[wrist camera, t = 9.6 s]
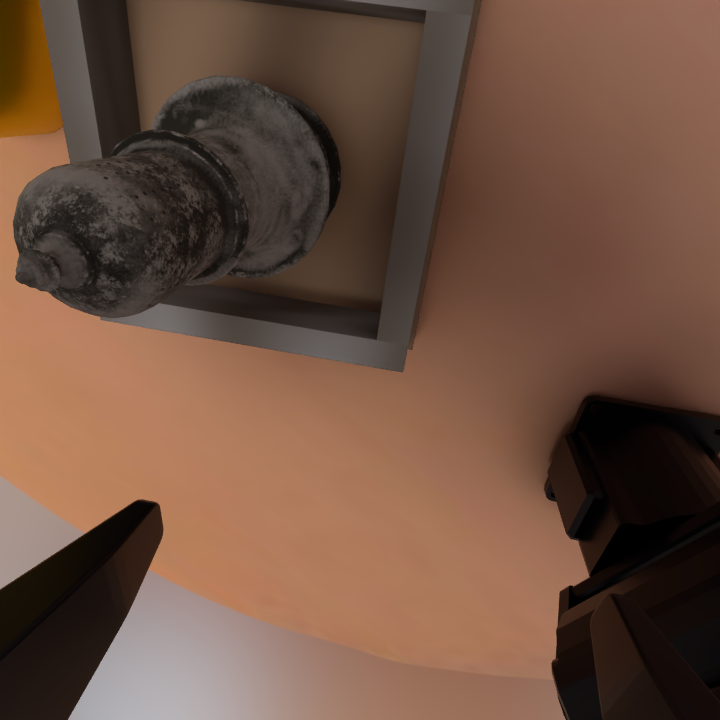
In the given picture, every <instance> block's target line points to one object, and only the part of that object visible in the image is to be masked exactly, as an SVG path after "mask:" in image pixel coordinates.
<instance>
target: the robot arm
mask: <svg viewBox="0 0 720 720" xmlns="http://www.w3.org/2000/svg"><path fill="white" fill-rule="evenodd" d="M594 405H599V406H598V407H597V408H595V409H591V407H592V406H594ZM718 427H720V417H719V416H713V415H707V414H702V413H696V412H690V411H684V410H678V409H673V408H667V407H661V406H655V405H649V404H644V403H638V402H632V401H626V400H620V399H615V398H609V397H603V396H589V397H587V398H586V399H585V400H584V401H583V402H582V405H581V407H580V409H579V411H578V413H577V416H576V418H575V420H574V422H573V425H572V427H571V429H570V431H569V432H567V433H566V434H565V435H564V436H563V438H562V440H561V442H560V445H559V447H558V449H557V451H556V454H555V456H554V458H553V460H552V463H551V465H550V467H549V469H548V475H549V478H548V481H547V483H546V485H545V488H544V491H545V494H546V497H547V498H548V499H549V500H551V501H555V502H557V505H558V508H559V512H560V515H561V518H562V521H563V525H564V528H565V531H566V534H567V535H568V536H569V538H570V539H573V540H578V542H579V545H580V548H581V551H582V554H583V558H584V561H585V564H586V567H587V570H588V573H589V576H590V577H589V578H587V579H586V580H584V581H582V582H581V583H579V584H577V585H575V586H574V587H573V586H571V585H570V586H568V587H567V588H565V589H563V590H562V591H560V596H559V613H558V627H557V630H556V634H557V647H556V659H555V660H553V661H552V675H553V679H554V682H555V686H556V690H557V694H558V699H559V702H560V705H561V708H562V711H563V714H564V716H565V719H566V720H720V458H719V457H718V453H719V452H720V429H718V430H715V429H716V428H718ZM162 536H163V522H162V516H161V510H160V505H159V504H158V503H157V502H153V501H148V500H142V499H140V500H137V501H135V502H133V503H131V504H130V505H128V506H127V507H125V508H124V509H122V510H121V511H119V512H118V513H116V514H115V515H113V516H112V517H110V518H108V519H107V520H105V521H104V522H102V523H101V524H99V525H98V526H96V527H95V528H93V529H92V530H90V531H89V532H87V533H86V534H84V535H83V536H81V537H79V538H78V539H77V540H75V541H73V542H72V543H70V544H69V545H67V546H66V547H64V548H63V549H61V550H60V551H58V552H57V553H55V554H54V555H52V556H51V557H49V558H47V559H46V560H44V561H43V562H41V563H40V564H38V565H37V566H36V567H34V568H32V569H31V570H29V571H28V572H26V573H24V574H23V575H21V576H20V577H18V578H17V579H15V580H14V581H12V582H11V583H9V584H8V585H6V586H5V587H3V588H2V589H0V720H68V718H69V716H70V715H71V713H72V711H73V710H74V708H75V706H76V704H77V703H78V701H79V699H80V697H81V696H82V694H83V692H84V690H85V689H86V687H87V685H88V683H89V681H90V680H91V678H92V676H93V675H94V673H95V671H96V669H97V668H98V666H99V664H100V662H101V661H102V659H103V657H104V655H105V654H106V652H107V650H108V648H109V647H110V645H111V643H112V641H113V640H114V638H115V636H116V634H117V633H118V631H119V629H120V627H121V626H122V624H123V622H124V620H125V618H126V616H127V614H128V612H129V610H130V608H131V606H132V604H133V602H134V600H135V597H136V595H137V593H138V591H139V589H140V586H141V584H142V582H143V580H144V577H145V575H146V573H147V571H148V568H149V566H150V564H151V562H152V560H153V557H154V555H155V553H156V551H157V548H158V546H159V544H160V542H161V539H162Z"/></svg>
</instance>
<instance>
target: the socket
mask: <svg viewBox="0 0 720 720" xmlns="http://www.w3.org/2000/svg"><path fill="white" fill-rule="evenodd" d="M481 1H482V0H39V3H40V8H41V13H42V18H43V23H44V29H45V34H46V39H47V44H48V49H49V54H50V60H51V65H52V70H53V75H54V80H55V85H56V91H57V96H58V101H59V106H60V111H61V117H62V122H63V127H64V132H65V137H66V142H67V148H68V153H69V158H70V163H76V162H82V161H88V160H94V159H100V158H106V157H108V156H109V155H110V153H111V152H112V151H113V149H114V148H115V146H116V145H117V144H118V143H120V142H121V141H123V140H124V139H126V138H127V137H129V136H130V135H132V134H135V133H139V132H143V131H147V130H150V129H151V126H152V123H153V121H154V118H155V116H156V114H157V113H158V111H159V110H160V109H161V107H162V106H163V105H164V103H165V102H166V101H167V99H168V98H169V96H171V95H172V94H173V93H175V92H176V91H178V90H179V89H181V88H182V87H184V86H185V85H186V84H188V83H189V82H192V81H195V80H199V79H203V78H206V77H210V76H214V75H218V76H233V77H243V78H246V79H248V80H251V81H254V82H256V83H259V84H261V85H264V86H267V87H269V88H270V89H272V90H273V91H278V92H281V93H284V94H286V95H289V96H292V97H294V98H297V99H299V100H300V101H301V102H303V103H304V104H305V105H307V106H308V107H309V108H311V109H312V110H313V111H315V113H316V114H317V115H318V116H319V118H320V119H321V120H322V121H323V123H324V124H325V125H326V126H327V128H328V129H329V131H330V134H331V136H332V138H333V140H334V142H335V144H336V146H337V150H338V155H339V160H340V165H341V187H340V191H339V194H338V198H337V201H336V205H335V207H334V209H333V210H332V212H331V213H330V215H329V217H328V218H327V220H326V221H325V224H324V228H323V231H322V233H321V235H320V236H319V238H318V240H317V241H316V243H315V244H314V246H313V248H312V249H311V251H310V252H309V253H308V254H307V255H306V256H305V257H304V258H302V259H301V260H300V261H299V262H298V263H297V264H296V265H295V266H294V267H291V268H289V269H287V270H285V271H283V272H281V273H279V274H277V275H274V276H268V277H261V278H255V279H251V278H242V277H233V276H230V275H227V274H226V275H225V276H223V277H221V278H219V279H217V280H215V281H213V282H211V283H207V284H201V285H194V286H191V285H183V286H182V287H180V288H179V289H178V290H176V291H175V292H174V293H172V294H171V295H169V296H168V297H167V298H165V299H164V300H162V301H161V302H160V303H158V304H157V305H155V306H154V307H152V308H150V309H148V310H146V311H144V312H141V313H139V314H136V315H132V316H128V317H120V318H108V317H100V318H101V320H104V321H110V322H116V323H121V324H127V325H133V326H139V327H144V328H150V329H156V330H162V331H167V332H173V333H179V334H185V335H190V336H196V337H202V338H208V339H213V340H219V341H225V342H231V343H236V344H242V345H248V346H254V347H259V348H265V349H271V350H277V351H282V352H288V353H294V354H300V355H305V356H311V357H317V358H323V359H328V360H334V361H340V362H346V363H351V364H357V365H363V366H369V367H374V368H380V369H386V370H392V371H397V372H403V370H404V364H405V359H406V354H407V349H409V350H412V348H413V343H414V338H415V333H416V328H417V323H418V318H419V313H420V308H421V303H422V298H423V293H424V288H425V283H426V278H427V273H428V268H429V263H430V258H431V253H432V248H433V242H434V237H435V232H436V227H437V222H438V217H439V212H440V207H441V202H442V197H443V192H444V187H445V182H446V177H447V172H448V167H449V162H450V157H451V152H452V147H453V142H454V137H455V132H456V127H457V122H458V117H459V112H460V107H461V102H462V97H463V92H464V87H465V82H466V77H467V72H468V66H469V61H470V56H471V51H472V46H473V41H474V36H475V31H476V26H477V21H478V16H479V11H480V6H481Z"/></svg>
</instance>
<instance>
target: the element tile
mask: <svg viewBox="0 0 720 720" xmlns="http://www.w3.org/2000/svg"><path fill="white" fill-rule="evenodd" d="M62 126H63V122H62V117H61V111H60V106H59V101H58V96H57V91H56V85H55V80H54V75H53V70H52V65H51V60H50V54H49V49H48V44H47V39H46V34H45V29H44V23H43V18H42V13H41V8H40V3H39V0H0V138H4V137H15V136H25V135H36V134H45V133H53V132H56V131H57V130H58V129H59V128H61V127H62Z"/></svg>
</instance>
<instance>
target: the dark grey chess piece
mask: <svg viewBox="0 0 720 720" xmlns="http://www.w3.org/2000/svg"><path fill="white" fill-rule="evenodd" d="M340 187H341V165H340V160H339V155H338V150H337V146H336V144H335V142H334V140H333V138H332V136H331V134H330V131H329V129H328V128H327V126H326V125H325V124H324V123H323V121H322V120H321V119H320V118H319V116H318V115H317V114H316V113H315V111H313V110H312V109H311V108H309V107H308V106H307V105H305V104H304V103H303V102H301V101H300V100H299V99H297V98H294V97H292V96H289V95H286V94H284V93H281V92H278V91H273V90H272V89H270V88H269V87H267V86H264V85H261V84H259V83H256V82H254V81H251V80H248V79H246V78H243V77H233V76H218V75H214V76H210V77H206V78H203V79H199V80H195V81H192V82H189V83H188V84H186V85H185V86H184V87H182V88H181V89H179V90H178V91H176V92H175V93H173V94H172V95H171V96H169V98H168V99H167V101H166V102H165V103H164V105H163V106H162V107H161V109H160V110H159V111H158V113H157V114H156V116H155V118H154V121H153V123H152V126H151V129H150V130H147V131H143V132H139V133H135V134H132V135H130V136H129V137H127V138H126V139H124V140H123V141H121V142H120V143H118V144H117V145H116V146H115V148H114V149H113V151H112V152H111V153H110V155H109V156H108V157H106V158H100V159H94V160H88V161H82V162H76V163H70V164H66V165H62V166H57V167H53V168H51V169H49V170H47V171H45V172H44V173H42V174H41V175H39V176H38V177H36V178H35V179H33V180H32V181H30V182H29V183H28V184H27V185H26V187H25V188H24V190H23V191H22V193H21V194H20V196H19V198H18V202H17V207H16V211H15V216H14V221H13V227H14V239H15V242H16V245H17V248H18V251H19V254H20V255H19V258H18V262H17V264H18V265H17V268H16V273H17V274H16V276H15V278H16V280H17V281H18V282H19V283H21V284H25V285H27V286H29V287H32V288H36V289H38V290H40V291H47V292H49V293H50V294H51V295H52V296H53V297H55V298H56V299H58V300H59V301H61V302H63V303H64V304H66V305H68V306H69V307H71V308H74V309H77V310H80V311H83V312H85V313H88V314H92V315H95V316H100V317H108V318H120V317H128V316H132V315H136V314H139V313H141V312H144V311H146V310H148V309H150V308H152V307H154V306H155V305H157V304H158V303H160V302H161V301H162V300H164V299H165V298H167V297H168V296H169V295H171V294H172V293H174V292H175V291H176V290H178V289H179V288H180V287H182V286H183V285H191V286H194V285H201V284H207V283H211V282H213V281H215V280H217V279H219V278H221V277H223V276H225V275H226V274H227V275H230V276H233V277H242V278H251V279H255V278H261V277H268V276H274V275H277V274H279V273H281V272H283V271H285V270H287V269H289V268H291V267H294V266H295V265H296V264H297V263H298V262H299V261H300V260H301V259H302V258H304V257H305V256H306V255H307V254H308V253H309V252H310V251H311V249H312V248H313V246H314V244H315V243H316V241H317V240H318V238H319V236H320V235H321V233H322V231H323V228H324V224H325V221H326V220H327V218H328V217H329V215H330V213H331V212H332V210H333V209H334V207H335V205H336V201H337V198H338V194H339V191H340Z"/></svg>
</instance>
